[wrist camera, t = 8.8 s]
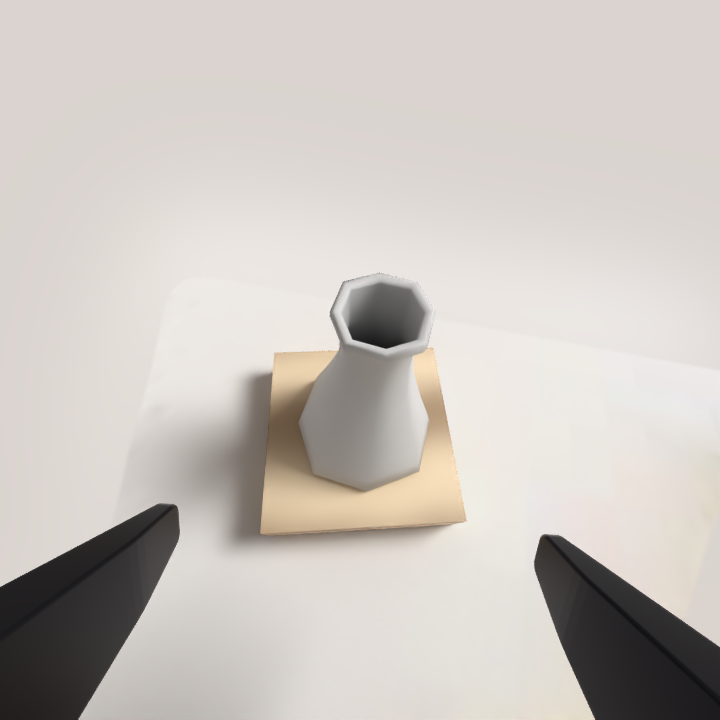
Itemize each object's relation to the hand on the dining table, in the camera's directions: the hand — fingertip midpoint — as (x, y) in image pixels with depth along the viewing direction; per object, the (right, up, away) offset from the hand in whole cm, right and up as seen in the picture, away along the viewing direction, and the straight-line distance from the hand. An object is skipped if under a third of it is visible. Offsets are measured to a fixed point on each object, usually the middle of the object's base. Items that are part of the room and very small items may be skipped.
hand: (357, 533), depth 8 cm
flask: (0, +1, +11) cm, 11 cm away
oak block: (0, -1, +13) cm, 13 cm away
